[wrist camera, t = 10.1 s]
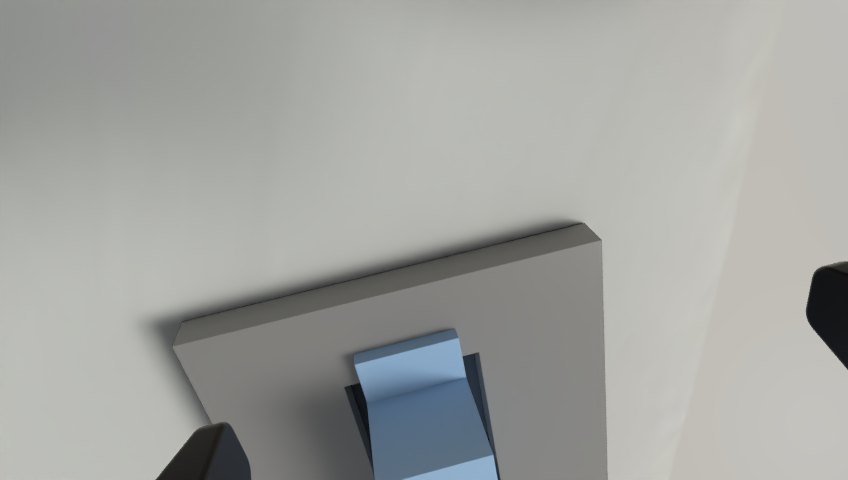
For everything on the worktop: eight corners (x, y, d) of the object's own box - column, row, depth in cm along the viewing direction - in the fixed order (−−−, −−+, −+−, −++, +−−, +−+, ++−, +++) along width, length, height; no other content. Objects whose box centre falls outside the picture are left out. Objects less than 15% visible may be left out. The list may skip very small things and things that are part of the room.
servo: (446, 305, 22) (491, 426, 16) (481, 479, 27) (524, 617, 21) (352, 329, 22) (362, 460, 16) (405, 500, 27) (427, 645, 21)
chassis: (584, 223, 21) (601, 240, 20) (595, 483, 29) (608, 508, 28) (181, 322, 20) (171, 347, 19) (302, 565, 28) (301, 595, 26)
